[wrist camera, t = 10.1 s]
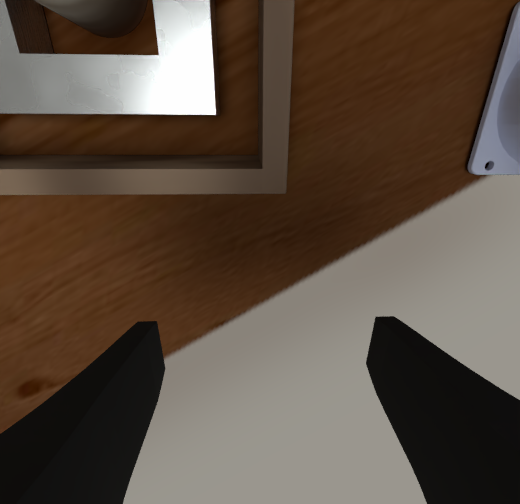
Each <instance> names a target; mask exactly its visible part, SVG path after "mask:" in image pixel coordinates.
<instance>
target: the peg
mask: <svg viewBox="0 0 520 504" xmlns="http://www.w3.org/2000/svg"><path fill="white" fill-rule="evenodd" d="M34 1H36V2H38V3H40V4H41V5H43V6H45V7H47V8H49V9H50V10H52V11H54V12H56V13H58V14H59V15H61V16H63V17H65V18H66V19H68V20H70V21H72V22H74V23H75V24H77V25H79V26H81V27H83V28H84V29H86V30H88V31H90V32H92V33H94V34H96V35H99V36H102V37H107V38H115V37H121V36H124V35H126V34H128V33H129V32H131V31H132V30H133V29H134V28H135V27H136V26H137V25H138V24H139V23H140V21H141V19H142V17H143V15H144V12H145V9H146V5H147V0H34Z"/></svg>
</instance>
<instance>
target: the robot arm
mask: <svg viewBox="0 0 520 504" xmlns="http://www.w3.org/2000/svg"><path fill="white" fill-rule="evenodd" d="M487 162H489V165H488V167H487V168H486V169H485V165H486V163H487ZM468 171H469V172H470V173H472V174H476V175H520V2H518V3H517V5H516V6H515V8H514V10H513V12H512V16H511V19H510V23H509V26H508V29H507V33H506V36H505V40H504V43H503V47H502V50H501V53H500V57H499V60H498V64H497V67H496V71H495V74H494V77H493V81H492V84H491V88H490V91H489V95H488V98H487V101H486V105H485V108H484V112H483V115H482V119H481V122H480V125H479V129H478V132H477V136H476V139H475V143H474V146H473V149H472V153H471V156H470V160H469V163H468ZM366 365H367V368H368V370H369V374H370V377H371V380H372V383H373V385H374V388H375V391H376V393H377V396H378V398H379V400H380V402H381V404H382V406H383V409H384V411H385V413H386V415H387V417H388V419H389V421H390V423H391V425H392V427H393V429H394V431H395V433H396V435H397V437H398V439H399V442H400V444H401V445H402V447H403V450H404V452H405V454H406V456H407V458H408V460H409V462H410V464H411V466H412V468H413V470H414V473H415V475H416V477H417V480H418V482H419V484H420V487H421V489H422V492H423V494H424V497H425V499H426V502H427V504H520V400H518V399H517V398H515V397H513V396H512V395H510V394H508V393H507V392H505V391H503V390H502V389H500V388H499V387H497V386H495V385H494V384H492V383H491V382H489V381H488V380H486V379H484V378H483V377H481V376H480V375H478V374H477V373H475V372H473V371H472V370H470V369H469V368H468V367H466V366H464V365H463V364H462V363H460V362H458V361H457V360H456V359H454V358H453V357H451V356H450V355H448V354H447V353H445V352H444V351H443V350H441V349H440V348H438V347H437V346H436V345H434V344H433V343H431V342H430V341H429V340H427V339H426V338H424V337H423V336H421V335H420V334H419V333H417V332H416V331H414V330H413V329H411V328H410V327H409V326H407V325H406V324H404V323H403V322H402V321H400V320H399V319H397V318H395V317H393V316H390V317H376V318H375V322H374V328H373V332H372V337H371V342H370V346H369V351H368V357H367V361H366ZM164 372H165V364H164V359H163V353H162V347H161V342H160V336H159V330H158V325H157V321H147V322H137V323H136V324H135V325H134V326H132V327H131V328H130V329H129V330H128V331H127V332H126V333H125V334H124V335H122V336H121V337H120V338H119V339H118V340H117V341H116V342H115V343H114V344H113V345H111V346H110V347H109V348H108V349H107V350H106V351H105V352H104V353H103V354H101V355H100V356H99V357H98V358H97V359H96V360H95V361H93V362H92V363H91V364H90V365H89V366H88V367H87V368H86V369H84V370H83V371H82V372H81V373H79V374H78V375H77V376H76V377H75V378H73V379H72V380H71V381H70V382H68V383H67V384H66V385H65V386H64V387H62V388H61V389H60V390H59V391H58V392H56V393H55V394H54V395H53V396H51V397H50V398H49V399H48V400H46V401H45V402H44V403H42V404H41V405H40V406H38V407H37V408H36V409H34V410H33V411H32V412H30V413H29V414H28V415H26V416H25V417H24V418H22V419H21V420H19V421H18V422H17V423H15V424H14V425H12V426H11V427H10V428H8V429H7V430H5V431H4V432H3V433H1V434H0V504H123V500H124V497H125V494H126V490H127V487H128V484H129V481H130V478H131V475H132V472H133V469H134V467H135V464H136V461H137V458H138V455H139V453H140V450H141V447H142V444H143V441H144V439H145V436H146V433H147V430H148V427H149V424H150V422H151V419H152V416H153V413H154V410H155V407H156V405H157V402H158V398H159V394H160V390H161V385H162V381H163V376H164Z"/></svg>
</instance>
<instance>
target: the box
mask: <svg viewBox="0 0 520 504" xmlns="http://www.w3.org/2000/svg"><path fill="white" fill-rule="evenodd" d="M293 23H294V0H259V58H258V155H0V195H101V194H286V188H287V165H288V141H289V117H290V94H291V70H292V47H293Z"/></svg>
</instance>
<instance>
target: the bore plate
mask: <svg viewBox="0 0 520 504" xmlns="http://www.w3.org/2000/svg"><path fill="white" fill-rule="evenodd" d="M153 7H154V16H155V25H156V33H157V42H158V50H159V55H88V54H54V52H53V48H52V43H51V39H50V35H49V31H48V27H47V23H46V19H45V15H44V11H43V6H42V5H41V4H40V3H38V2H36V1H34V0H0V114H73V115H220V96H219V75H218V53H217V32H216V11H215V0H153Z"/></svg>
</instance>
